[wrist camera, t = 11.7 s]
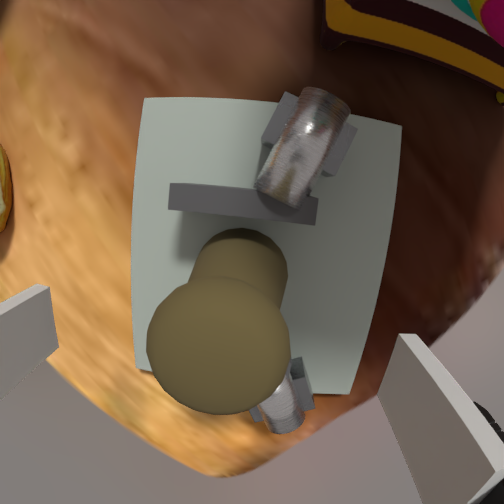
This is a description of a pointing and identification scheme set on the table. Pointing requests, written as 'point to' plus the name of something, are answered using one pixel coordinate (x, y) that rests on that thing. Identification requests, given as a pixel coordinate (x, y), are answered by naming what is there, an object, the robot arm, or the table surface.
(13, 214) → the table surface
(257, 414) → the shaft
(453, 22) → the decorative lantern
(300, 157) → the shaft
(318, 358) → the rig
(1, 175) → the decorated donut
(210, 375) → the cork
